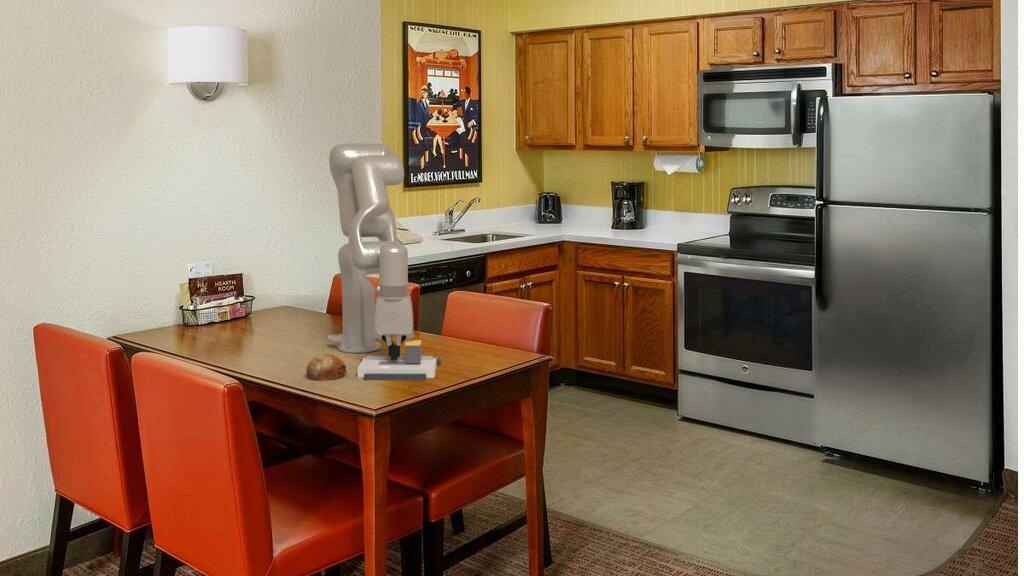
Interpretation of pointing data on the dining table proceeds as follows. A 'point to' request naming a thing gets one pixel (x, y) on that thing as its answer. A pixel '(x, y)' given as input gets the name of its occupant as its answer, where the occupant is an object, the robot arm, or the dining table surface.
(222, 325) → the dining table surface
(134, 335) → the dining table surface
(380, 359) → the base
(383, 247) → the robot arm
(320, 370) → the bread roll
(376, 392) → the dining table surface
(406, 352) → the breaker lever
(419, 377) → the dark grey plate
